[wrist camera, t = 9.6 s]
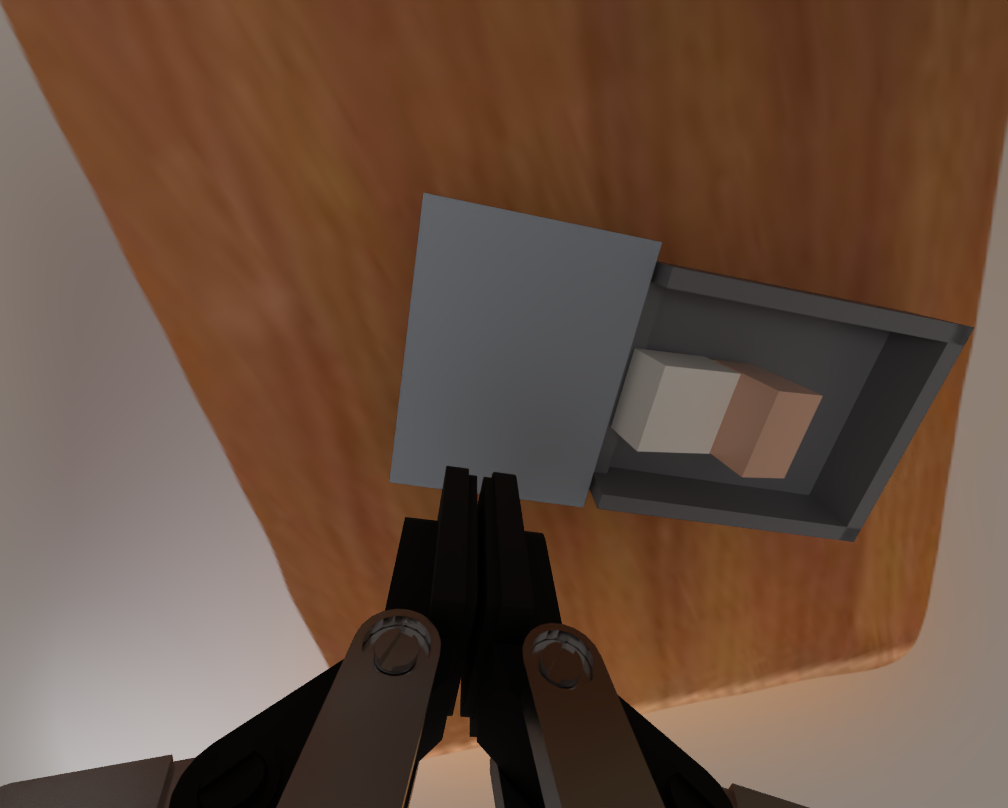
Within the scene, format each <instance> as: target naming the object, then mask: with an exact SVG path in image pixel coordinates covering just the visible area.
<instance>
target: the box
mask: <svg viewBox="0 0 1008 808" xmlns="http://www.w3.org/2000/svg"><path fill="white" fill-rule="evenodd" d="M973 329H974V327H970V326H966V325H961V324H957V323H953V322H948V321H944V320H940V319H936V318H931V317H927V316H923V315H919V314H914V313H910V312H905V311H900V310H895V309H890V308H885V307H880V306H875V305H870V304H865V303H860V302H855V301H851V300H846V299H841V298H836V297H831V296H826V295H821V294H816V293H811V292H806V291H801V290H796V289H791V288H786V287H781V286H776V285H771V284H766V283H761V282H756V281H751V280H747V279H742V278H737V277H732V276H727V275H722V274H717V273H712V272H707V271H702V270H697V269H692V268H687V267H682V266H677V265H672V264H667V263H662V262H657V261H656V265H655V268H654V272H653V275H652V278H651V282H650V285H649V288H648V292H647V295H646V298H645V302H644V305H643V308H642V312H641V315H640V319H639V322H638V325H637V329H636V332H635V335H634V339H633V342H632V345H631V349H630V352H629V356H628V359H627V362H626V366H625V369H624V372H623V376H622V379H621V382H620V386H619V389H618V393H617V396H616V399H615V403H614V406H613V409H612V413H611V416H610V419H609V423H608V426H607V429H606V433H605V436H604V440H603V443H602V446H601V450H600V453H599V456H598V460H597V463H596V466H595V470H594V473H593V477H592V480H591V483H590V487H589V489H590V491H591V493H592V496H593V498H594V501H595V503H596V505H597V508H598V509H605V510H612V511H620V512H628V513H635V514H643V515H651V516H658V517H666V518H674V519H681V520H689V521H697V522H705V523H712V524H720V525H728V526H735V527H743V528H751V529H758V530H766V531H774V532H781V533H789V534H797V535H805V536H812V537H820V538H828V539H835V540H843V541H851V542H854V541H855V539H856V537H857V535H858V534H859V532H860V530H861V528H862V526H863V525H864V523H865V521H866V519H867V518H868V516H869V514H870V512H871V510H872V509H873V507H874V505H875V503H876V502H877V500H878V498H879V496H880V494H881V493H882V491H883V489H884V487H885V486H886V484H887V482H888V480H889V478H890V477H891V475H892V473H893V471H894V470H895V468H896V466H897V464H898V462H899V461H900V459H901V457H902V455H903V454H904V452H905V450H906V448H907V446H908V445H909V443H910V441H911V439H912V438H913V436H914V434H915V432H916V430H917V429H918V427H919V425H920V423H921V422H922V420H923V418H924V416H925V414H926V413H927V411H928V409H929V407H930V406H931V404H932V402H933V400H934V398H935V397H936V395H937V393H938V391H939V390H940V388H941V386H942V384H943V382H944V381H945V379H946V377H947V375H948V374H949V372H950V370H951V368H952V366H953V365H954V363H955V361H956V359H957V358H958V356H959V354H960V352H961V350H962V349H963V347H964V345H965V343H966V342H967V340H968V338H969V336H970V334H971V333H972V331H973ZM635 348H637V349H646V350H654V351H662V352H671V353H679V354H687V355H696V356H704V357H707V358H709V359H711V360H713V359H716V360H724V361H732V362H740V363H748V364H754V365H756V366H758V367H760V368H762V369H765V370H767V371H769V372H771V373H774V374H776V375H778V376H780V377H782V378H785V379H787V380H789V381H791V382H794V383H796V384H798V385H800V386H802V387H805V388H807V389H809V390H811V391H814V392H816V393H818V394H820V395H822V396H823V397H822V399H821V401H820V403H819V405H818V407H817V409H816V411H815V414H814V416H813V418H812V420H811V422H810V424H809V426H808V428H807V431H806V433H805V435H804V437H803V439H802V441H801V443H800V445H799V448H798V450H797V452H796V454H795V456H794V458H793V460H792V462H791V465H790V467H789V469H788V471H787V473H786V475H785V477H784V478H750V477H741V476H739V475H738V474H737V473H736V472H734V471H733V470H732V469H730V468H729V467H728V466H726V465H725V464H724V463H722V462H721V461H720V460H718V459H717V458H716V457H714V456H713V455H712V454H710V453H709V454H701V453H670V452H640V451H636V450H635V449H634V448H633V447H632V446H631V445H630V444H629V443H627V442H626V441H625V440H624V439H623V438H622V437H621V436H620V435H619V434H618V433H617V432H616V431H614V430H613V429H612V428H611V425H612V422H613V418H614V415H615V412H616V408H617V405H618V402H619V398H620V395H621V392H622V388H623V385H624V382H625V379H626V375H627V372H628V369H629V365H630V362H631V359H632V355H633V352H634V349H635Z"/></svg>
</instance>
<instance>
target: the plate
mask: <svg viewBox="0 0 1008 808" xmlns="http://www.w3.org/2000/svg"><path fill="white" fill-rule="evenodd" d="M661 245H662V242H658V241H654V240H649V239H644V238H639V237H634V236H630V235H625V234H620V233H615V232H610V231H605V230H601V229H596V228H591V227H586V226H581V225H577V224H572V223H567V222H562V221H557V220H552V219H548V218H543V217H538V216H533V215H528V214H524V213H519V212H514V211H509V210H504V209H499V208H495V207H490V206H485V205H480V204H475V203H471V202H466V201H461V200H456V199H451V198H447V197H442V196H437V195H432V194H427V193H423V202H422V210H421V219H420V227H419V235H418V244H417V252H416V261H415V269H414V278H413V286H412V295H411V303H410V312H409V320H408V329H407V337H406V346H405V354H404V363H403V371H402V380H401V388H400V397H399V405H398V414H397V422H396V431H395V439H394V448H393V456H392V465H391V473H390V482H391V483H399V484H407V485H415V486H422V487H430V488H438V489H443V483H444V476H445V470H446V466H454V467H461V468H469V475H476V476H477V494H480V491H481V486H482V481H483V477H492V474H493V472H499V473H507V474H514V475H516V477H517V483H518V490H519V497H520V499H522V500H530V501H538V502H545V503H553V504H561V505H569V506H576V507H584V503H585V500H586V497H587V493H588V490H589V487H590V483H591V480H592V477H593V473H594V470H595V466H596V463H597V460H598V456H599V453H600V450H601V446H602V443H603V440H604V436H605V433H606V429H607V426H608V423H609V419H610V416H611V413H612V409H613V406H614V403H615V399H616V396H617V393H618V389H619V386H620V382H621V379H622V376H623V372H624V369H625V366H626V362H627V359H628V356H629V352H630V349H631V345H632V342H633V339H634V335H635V332H636V329H637V325H638V322H639V319H640V315H641V312H642V308H643V305H644V302H645V298H646V295H647V292H648V288H649V285H650V282H651V278H652V275H653V272H654V268H655V265H656V261H657V258H658V255H659V251H660V248H661Z"/></svg>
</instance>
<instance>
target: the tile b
mask: <svg viewBox="0 0 1008 808" xmlns="http://www.w3.org/2000/svg"><path fill="white" fill-rule="evenodd" d="M713 361H715V362H717V363H719V364H721V365H723V366H725V367H728V368H730V369H732V370H734V371H736V372H738V373H740V377H739V379H738V382H737V385H736V387H735V390H734V392H733V395H732V397H731V400H730V402H729V405H728V407H727V410H726V412H725V415H724V417H723V420H722V423H721V425H720V428H719V430H718V433H717V435H716V438H715V440H714V443H713V445H712V448H711V450H710V454H712V455H713V456H714V457H716V458H717V459H718V460H720V461H721V462H722V463H724V464H725V465H726V466H728V467H729V468H730V469H732V470H733V471H734V472H736V473H737V474H738V475H739V476H741V477H750V478H784V477H785V475H786V473H787V471H788V469H789V467H790V465H791V462H792V460H793V458H794V456H795V454H796V452H797V450H798V448H799V445H800V443H801V441H802V439H803V437H804V435H805V433H806V431H807V428H808V426H809V424H810V422H811V420H812V418H813V416H814V414H815V411H816V409H817V407H818V405H819V403H820V401H821V399H822V397H823V396H822V395H820V394H818V393H816V392H814V391H811V390H809V389H807V388H805V387H802V386H800V385H798V384H796V383H794V382H791V381H789V380H787V379H785V378H782V377H780V376H778V375H776V374H774V373H771V372H769V371H767V370H765V369H762V368H760V367H758V366H756V365H754V364H748V363H740V362H732V361H724V360H716V359H713Z"/></svg>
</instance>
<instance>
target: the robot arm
mask: <svg viewBox="0 0 1008 808" xmlns="http://www.w3.org/2000/svg"><path fill="white" fill-rule="evenodd" d="M460 680H461V700H460V715H461V717H470V737H477V742H478V743H479V745H480V746H481V747H482V748H483V749H484V750H485V751H486V753H487V754H488V755H489V756H490V757H491V758H490V775H491V782H492V788H493V794H494V801H495V808H809V807H805V806H802V805H799V804H796V803H793V802H790V801H786V800H783V799H780V798H777V797H774V796H771V795H768V794H764V793H761V792H758V791H755V790H752V789H749V788H745V787H743V786H739V785H736V784H731V786H730V787H729V789H726V788H723V787H721V786H720V784H719V783H718V782H717V781H716V780H715V779H714V778H713V777H712V776H711V775H710V774H709V773H708V772H707V771H706V770H705V769H704V768H703V767H702V766H700V765H699V764H698V763H697V762H696V761H695V760H693V759H692V758H691V757H690V756H689V755H688V754H686V753H685V752H684V751H683V750H682V749H681V748H679V747H678V746H677V745H676V744H675V743H674V742H672V741H671V740H670V739H669V738H668V737H666V736H665V735H664V734H663V733H662V732H661V731H659V730H658V729H657V728H656V727H654V725H652V724H651V723H650V722H649V721H648V720H646V719H645V718H644V717H643V716H642V715H641V714H640V713H638V712H637V711H636V710H635V709H634V708H633V707H631V706H630V705H629V704H628V703H627V702H625V701H624V700H623V699H622V698H621V697H620V696H618V695H617V692H616V690H615V688H614V685H613V683H612V680H611V678H610V676H609V673H608V671H607V669H606V666H605V664H604V661H603V659H602V657H601V655H600V653H599V651H598V650H597V648H596V646H595V645H594V644H593V643H592V641H591V640H590V639H589V638H588V637H587V636H586V635H584V634H583V633H581V632H580V631H578V630H577V629H575V628H572V627H570V626H567V625H564V624H562V622H561V617H560V612H559V607H558V601H557V596H556V591H555V586H554V581H553V576H552V571H551V566H550V561H549V556H548V551H547V546H546V540H545V537H544V535H543V534H542V533H537V532H528V531H524V526H523V519H522V512H521V505H520V497H519V490H518V483H517V477H516V475H514V474H507V473H499V472H493V474H492V477H483V481H482V486H481V491H480V496H479V501H478V506H477V476H476V475H469V468H461V467H454V466H446V470H445V476H444V483H443V489H442V495H441V501H440V507H439V513H438V519H437V521H434V520H426V519H417V518H409V517H405V521H404V525H403V530H402V534H401V539H400V543H399V548H398V553H397V557H396V562H395V567H394V571H393V576H392V581H391V585H390V590H389V595H388V599H387V604H386V609H385V611H383V612H380V613H378V614H376V615H374V616H372V617H370V618H369V619H368V620H367V621H366V622H364V623H363V624H362V625H361V627H360V628H359V630H358V631H357V633H356V634H355V636H354V638H353V640H352V643H351V645H350V647H349V649H348V651H347V654H346V656H345V658H344V659H343V660H342V661H340V662H338V663H337V664H335V665H334V666H332V667H331V668H329V669H328V670H326V671H325V672H323V673H322V674H320V675H318V676H317V677H315V678H314V679H312V680H311V681H309V682H308V683H306V684H305V685H303V686H301V687H300V688H298V689H297V690H295V691H294V692H292V693H290V694H289V695H287V696H286V697H284V698H283V699H282V700H280V701H278V702H277V703H275V704H273V705H272V706H270V707H269V708H267V709H266V710H264V711H263V712H261V713H260V714H258V715H256V716H255V717H253V718H252V719H250V720H249V721H247V722H246V723H244V724H242V725H241V726H239V727H238V728H236V729H235V730H233V731H232V732H230V733H229V734H227V735H225V736H224V737H223V738H221V739H219V740H218V741H216V742H215V743H213V744H212V745H211V746H209V747H208V748H207V749H206V750H204V751H203V752H202V753H201V754H199V755H198V756H197V757H196V758H191V759H185V760H180V761H174V762H173V757H172V755H167V756H162V757H156V758H150V759H144V760H139V761H133V762H128V763H122V764H116V765H110V766H105V767H99V768H94V769H88V770H82V771H77V772H71V773H66V774H60V775H55V776H48V777H43V778H37V779H32V780H26V781H20V782H15V783H10V784H7V785H4V786H1V787H0V808H409V804H410V800H411V795H412V791H413V787H414V783H415V778H416V775H417V770H418V765H419V761H420V760H421V759H422V758H423V757H424V756H425V755H426V754H427V753H429V752H430V751H431V750H432V749H433V748H434V747H435V746H436V745H437V744H438V743H439V742H440V741H441V740H442V738H443V733H444V729H445V724H446V719H447V716H452V715H453V711H454V706H455V702H456V698H457V693H458V689H459V684H460Z"/></svg>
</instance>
